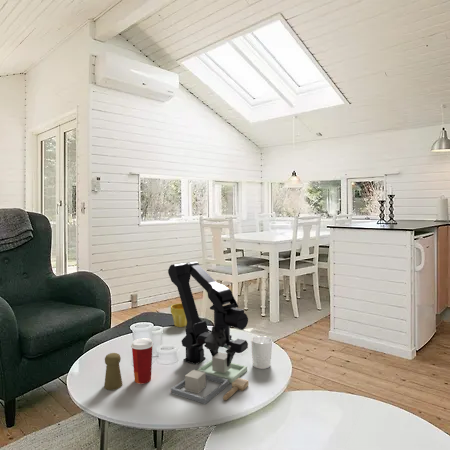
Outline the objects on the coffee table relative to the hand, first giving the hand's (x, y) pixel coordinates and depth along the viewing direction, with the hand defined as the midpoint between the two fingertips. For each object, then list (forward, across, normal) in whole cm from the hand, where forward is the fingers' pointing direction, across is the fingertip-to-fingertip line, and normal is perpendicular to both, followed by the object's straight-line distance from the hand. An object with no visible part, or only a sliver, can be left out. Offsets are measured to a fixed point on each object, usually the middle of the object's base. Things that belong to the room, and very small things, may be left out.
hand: (222, 364), depth 141 cm
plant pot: (+3, -45, +35) cm, 57 cm away
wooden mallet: (+3, +11, -10) cm, 15 cm away
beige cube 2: (+3, -2, -15) cm, 15 cm away
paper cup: (+3, -21, -19) cm, 29 cm away
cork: (+3, -27, -27) cm, 39 cm away
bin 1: (+3, 0, -14) cm, 14 cm away
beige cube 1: (+2, 0, 0) cm, 2 cm away
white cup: (+3, +10, +13) cm, 16 cm away
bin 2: (+3, 0, 0) cm, 3 cm away
